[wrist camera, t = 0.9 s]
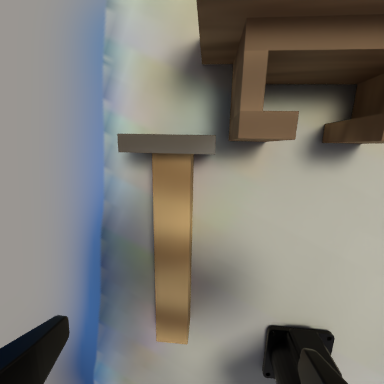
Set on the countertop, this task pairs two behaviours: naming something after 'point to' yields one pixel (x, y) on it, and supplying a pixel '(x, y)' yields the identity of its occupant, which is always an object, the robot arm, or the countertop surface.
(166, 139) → the hammer
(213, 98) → the countertop surface
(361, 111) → the walnut box
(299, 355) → the robot arm
